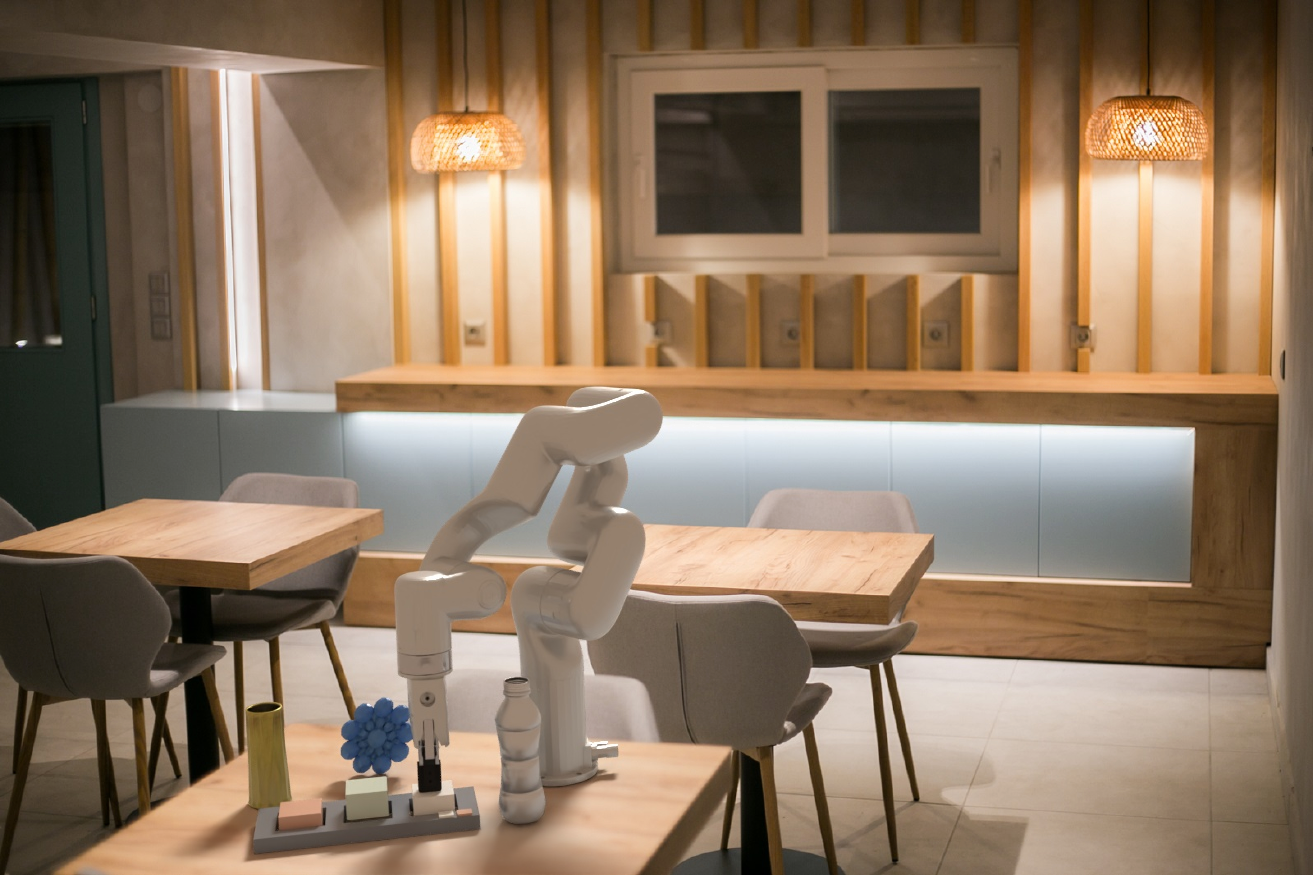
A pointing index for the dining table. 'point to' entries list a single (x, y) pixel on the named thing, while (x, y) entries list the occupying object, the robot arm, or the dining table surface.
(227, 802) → the dining table surface
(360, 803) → the key sage
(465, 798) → the keypad board
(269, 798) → the vase
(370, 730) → the blue flower rosette
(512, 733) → the plastic bottle
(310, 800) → the key terracotta
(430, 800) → the key ivory
